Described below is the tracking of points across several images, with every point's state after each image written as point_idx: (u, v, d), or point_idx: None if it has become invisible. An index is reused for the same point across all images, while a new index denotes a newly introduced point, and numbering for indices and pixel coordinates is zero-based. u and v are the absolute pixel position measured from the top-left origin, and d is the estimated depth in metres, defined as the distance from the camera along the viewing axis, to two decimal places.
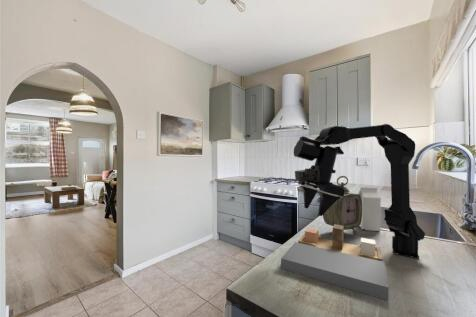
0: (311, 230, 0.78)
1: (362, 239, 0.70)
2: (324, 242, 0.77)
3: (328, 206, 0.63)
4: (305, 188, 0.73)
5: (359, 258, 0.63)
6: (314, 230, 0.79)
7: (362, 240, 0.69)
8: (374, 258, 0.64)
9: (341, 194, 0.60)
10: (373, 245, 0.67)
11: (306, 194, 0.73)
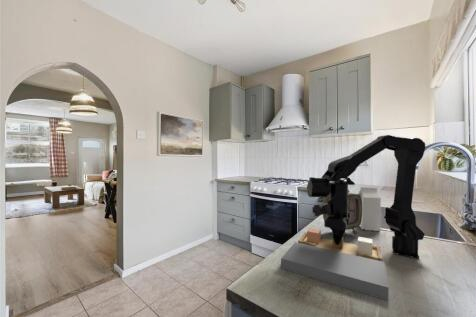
0: (313, 230, 0.78)
1: (359, 238, 0.71)
2: (324, 242, 0.77)
3: (340, 236, 0.70)
4: None
5: (359, 258, 0.63)
6: (316, 230, 0.78)
7: (359, 239, 0.70)
8: (374, 258, 0.64)
9: (341, 228, 0.65)
10: (370, 244, 0.67)
11: None
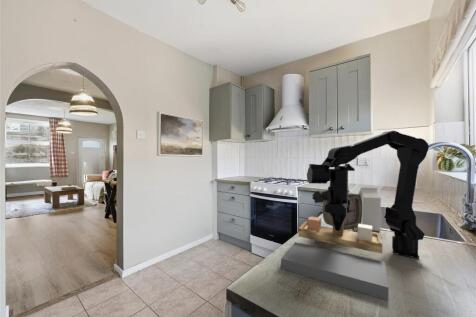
0: (314, 218, 0.78)
1: (359, 225, 0.71)
2: (324, 229, 0.77)
3: (340, 222, 0.70)
4: None
5: (359, 258, 0.63)
6: (317, 218, 0.78)
7: (359, 225, 0.70)
8: (374, 243, 0.64)
9: (341, 212, 0.65)
10: (370, 230, 0.67)
11: None
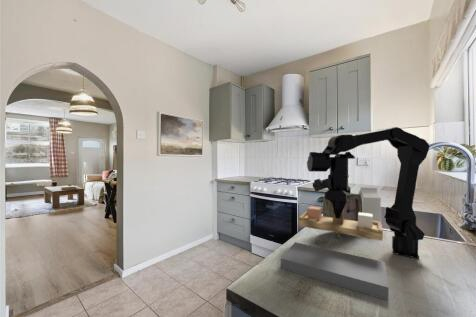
0: (314, 207, 0.78)
1: (359, 213, 0.71)
2: (324, 219, 0.77)
3: (341, 209, 0.70)
4: None
5: (359, 258, 0.63)
6: (317, 207, 0.78)
7: (359, 214, 0.70)
8: (375, 230, 0.64)
9: (341, 199, 0.65)
10: (370, 218, 0.67)
11: None
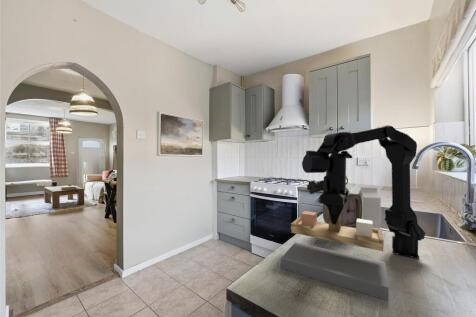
0: (308, 213, 0.71)
1: (358, 220, 0.64)
2: (320, 225, 0.71)
3: (337, 214, 0.63)
4: None
5: (359, 258, 0.63)
6: (312, 213, 0.71)
7: (358, 220, 0.63)
8: (375, 239, 0.57)
9: (337, 203, 0.58)
10: (370, 225, 0.60)
11: None
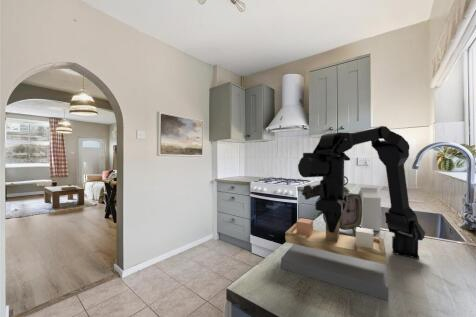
0: (304, 220, 0.66)
1: (358, 228, 0.59)
2: (316, 234, 0.66)
3: (335, 222, 0.58)
4: None
5: None
6: (308, 220, 0.66)
7: (357, 229, 0.58)
8: (376, 251, 0.52)
9: (335, 210, 0.53)
10: (371, 235, 0.55)
11: None
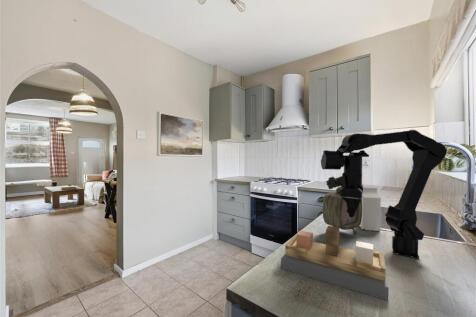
0: (304, 233, 0.66)
1: (357, 243, 0.59)
2: (316, 247, 0.66)
3: (355, 208, 0.69)
4: None
5: None
6: (308, 233, 0.66)
7: (357, 244, 0.58)
8: (376, 267, 0.52)
9: (356, 196, 0.66)
10: (370, 250, 0.55)
11: None
